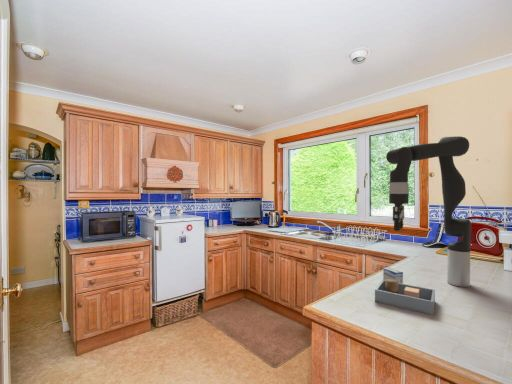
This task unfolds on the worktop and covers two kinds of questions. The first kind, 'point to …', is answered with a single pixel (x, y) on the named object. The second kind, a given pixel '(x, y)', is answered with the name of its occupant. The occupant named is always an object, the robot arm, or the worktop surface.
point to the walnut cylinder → (391, 286)
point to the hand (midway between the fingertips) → (398, 229)
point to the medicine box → (393, 274)
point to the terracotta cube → (411, 292)
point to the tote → (407, 298)
